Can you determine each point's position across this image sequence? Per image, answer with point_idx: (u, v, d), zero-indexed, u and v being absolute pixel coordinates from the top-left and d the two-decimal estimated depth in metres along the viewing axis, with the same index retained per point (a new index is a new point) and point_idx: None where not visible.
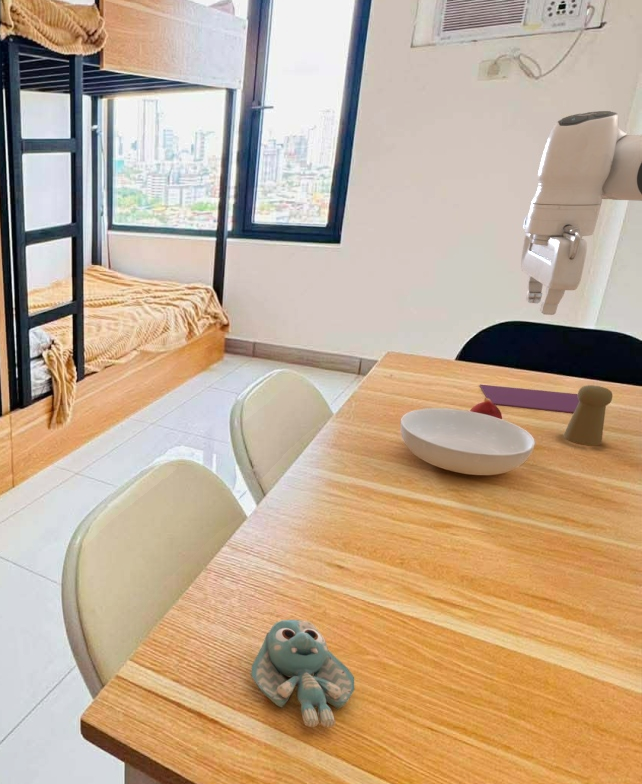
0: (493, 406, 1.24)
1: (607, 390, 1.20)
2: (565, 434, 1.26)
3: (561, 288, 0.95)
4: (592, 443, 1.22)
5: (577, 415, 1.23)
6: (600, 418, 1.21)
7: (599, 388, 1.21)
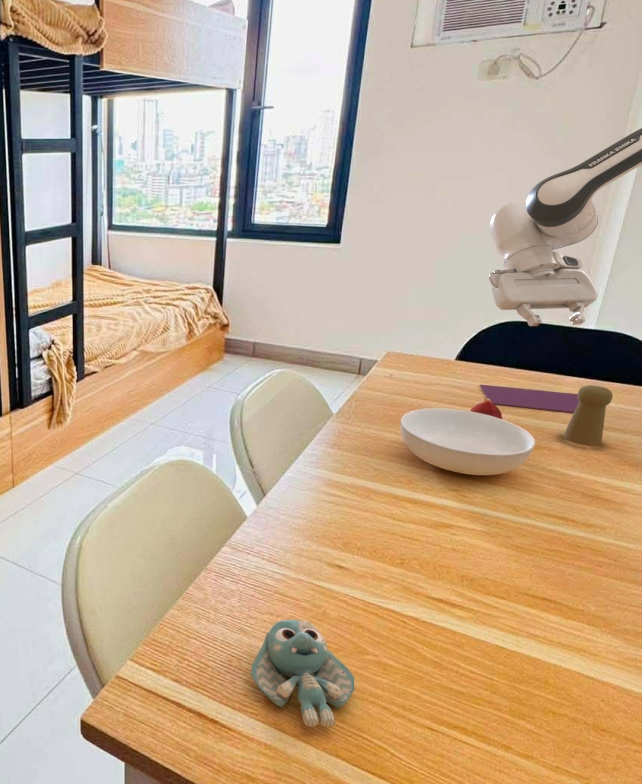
0: (493, 406, 1.24)
1: (607, 390, 1.20)
2: (565, 434, 1.26)
3: (503, 305, 1.32)
4: (592, 443, 1.22)
5: (577, 415, 1.23)
6: (600, 418, 1.21)
7: (599, 388, 1.21)
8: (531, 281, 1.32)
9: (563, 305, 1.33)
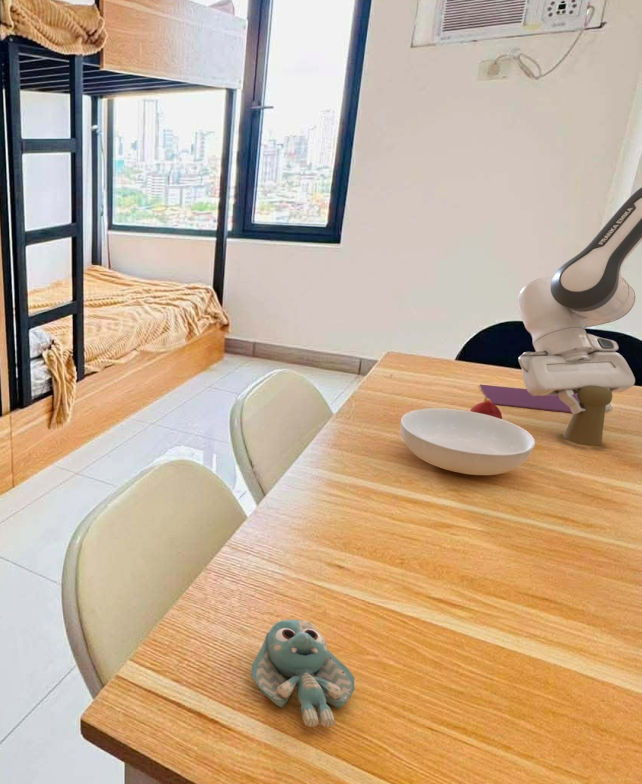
0: (493, 406, 1.24)
1: (607, 390, 1.20)
2: (565, 434, 1.26)
3: (535, 392, 1.24)
4: (592, 443, 1.22)
5: (577, 415, 1.23)
6: (600, 418, 1.21)
7: (599, 388, 1.21)
8: (564, 365, 1.25)
9: None
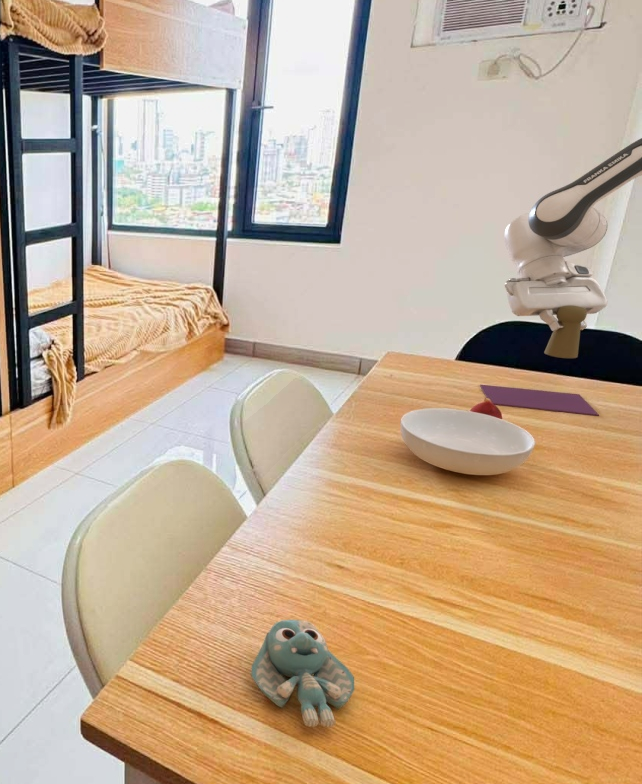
0: (493, 406, 1.24)
1: (582, 308, 1.36)
2: (545, 350, 1.41)
3: (519, 312, 1.40)
4: (569, 356, 1.38)
5: (556, 332, 1.39)
6: (576, 334, 1.37)
7: (575, 306, 1.36)
8: (545, 288, 1.41)
9: None
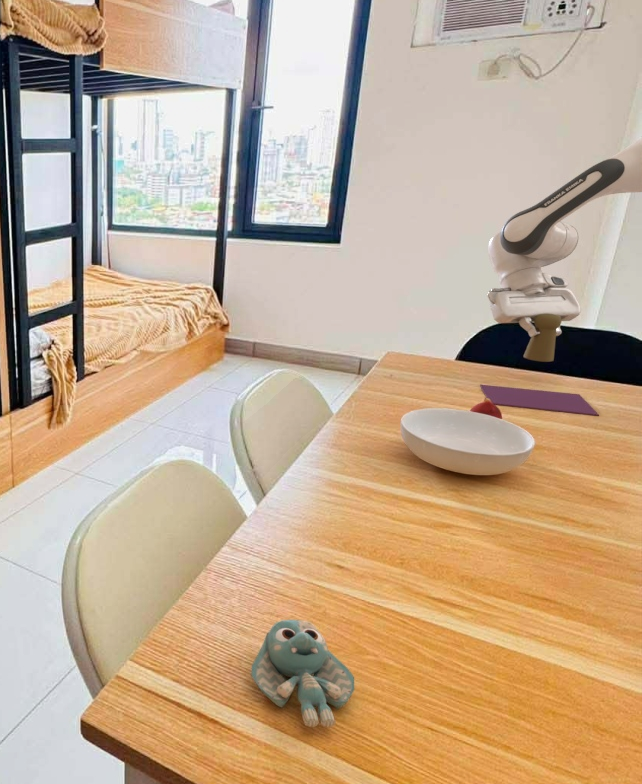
0: (493, 406, 1.24)
1: (557, 316, 1.49)
2: (524, 354, 1.55)
3: (500, 319, 1.53)
4: (545, 360, 1.51)
5: (534, 337, 1.52)
6: (552, 339, 1.50)
7: (551, 315, 1.50)
8: (524, 298, 1.54)
9: None
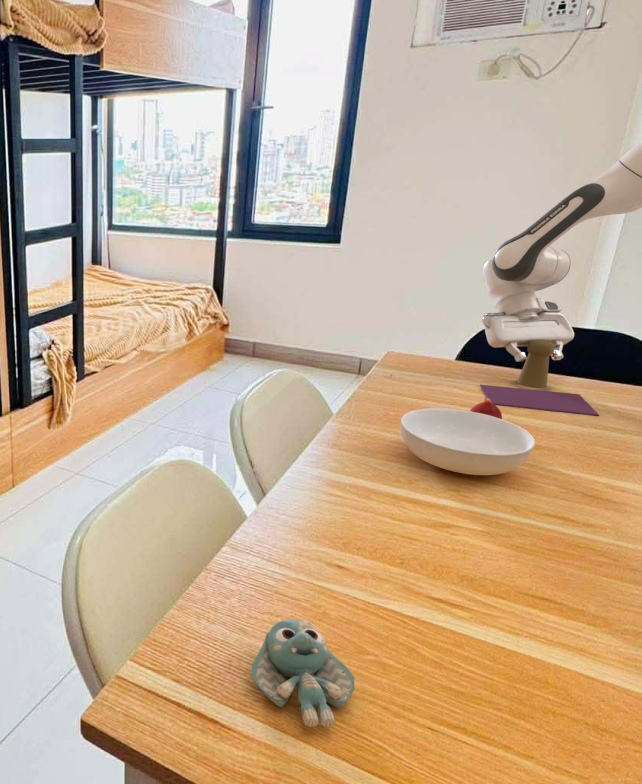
0: (493, 406, 1.24)
1: (550, 343, 1.52)
2: (518, 380, 1.57)
3: (494, 344, 1.55)
4: (538, 386, 1.54)
5: (527, 363, 1.55)
6: (545, 366, 1.52)
7: (544, 341, 1.52)
8: (518, 322, 1.56)
9: None
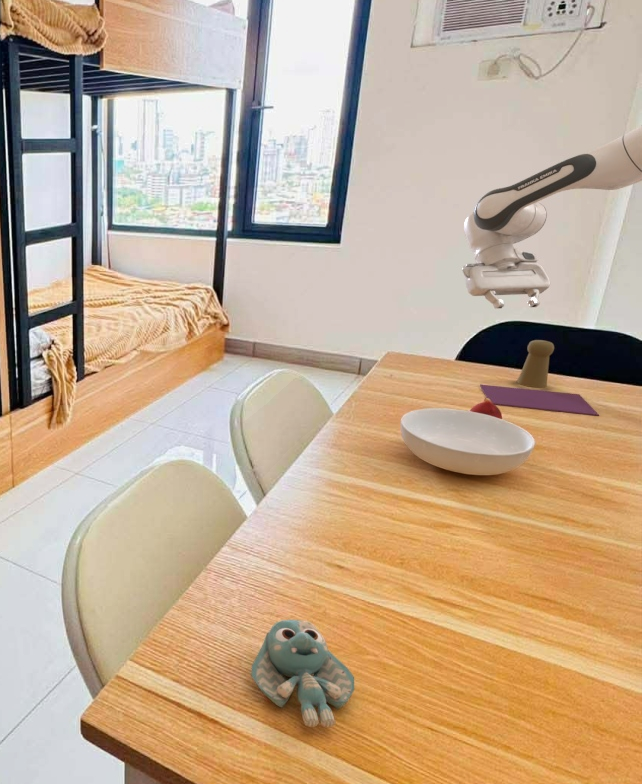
0: (493, 406, 1.24)
1: (550, 343, 1.52)
2: (518, 380, 1.57)
3: (474, 292, 1.63)
4: (538, 386, 1.54)
5: (527, 363, 1.55)
6: (545, 366, 1.52)
7: (544, 341, 1.52)
8: (496, 272, 1.63)
9: (523, 292, 1.64)
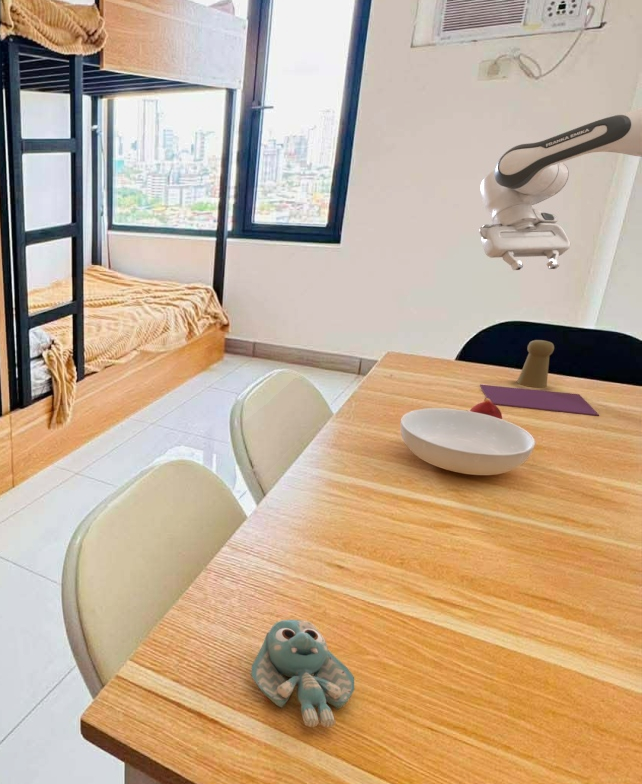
0: (493, 406, 1.24)
1: (550, 343, 1.52)
2: (518, 380, 1.57)
3: (491, 253, 1.57)
4: (538, 386, 1.54)
5: (527, 363, 1.55)
6: (545, 366, 1.52)
7: (544, 341, 1.52)
8: (514, 233, 1.58)
9: (541, 253, 1.59)
